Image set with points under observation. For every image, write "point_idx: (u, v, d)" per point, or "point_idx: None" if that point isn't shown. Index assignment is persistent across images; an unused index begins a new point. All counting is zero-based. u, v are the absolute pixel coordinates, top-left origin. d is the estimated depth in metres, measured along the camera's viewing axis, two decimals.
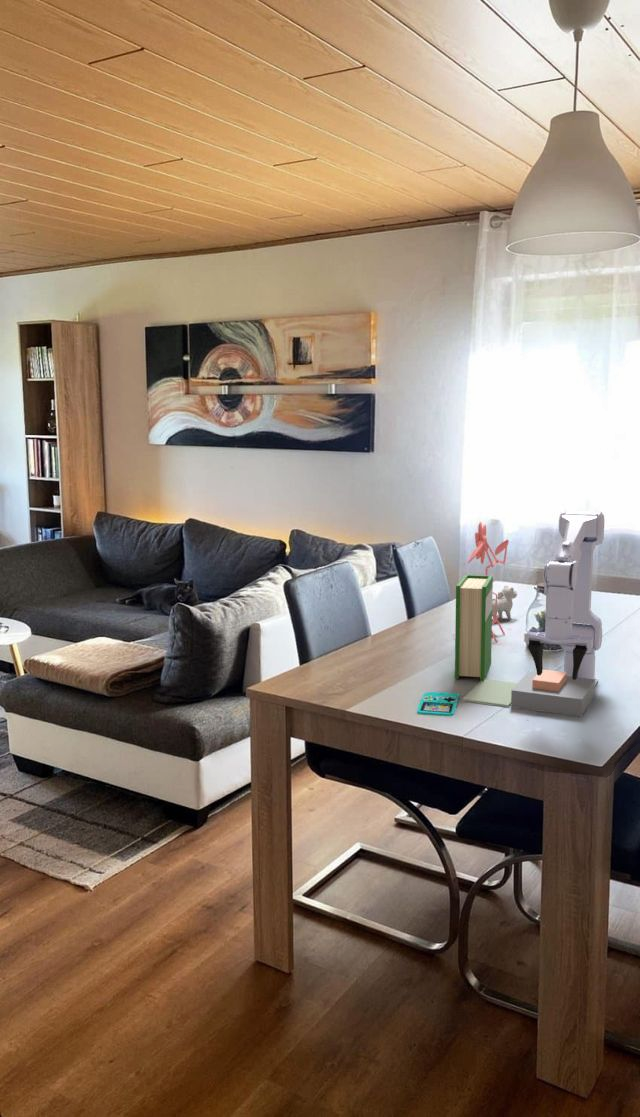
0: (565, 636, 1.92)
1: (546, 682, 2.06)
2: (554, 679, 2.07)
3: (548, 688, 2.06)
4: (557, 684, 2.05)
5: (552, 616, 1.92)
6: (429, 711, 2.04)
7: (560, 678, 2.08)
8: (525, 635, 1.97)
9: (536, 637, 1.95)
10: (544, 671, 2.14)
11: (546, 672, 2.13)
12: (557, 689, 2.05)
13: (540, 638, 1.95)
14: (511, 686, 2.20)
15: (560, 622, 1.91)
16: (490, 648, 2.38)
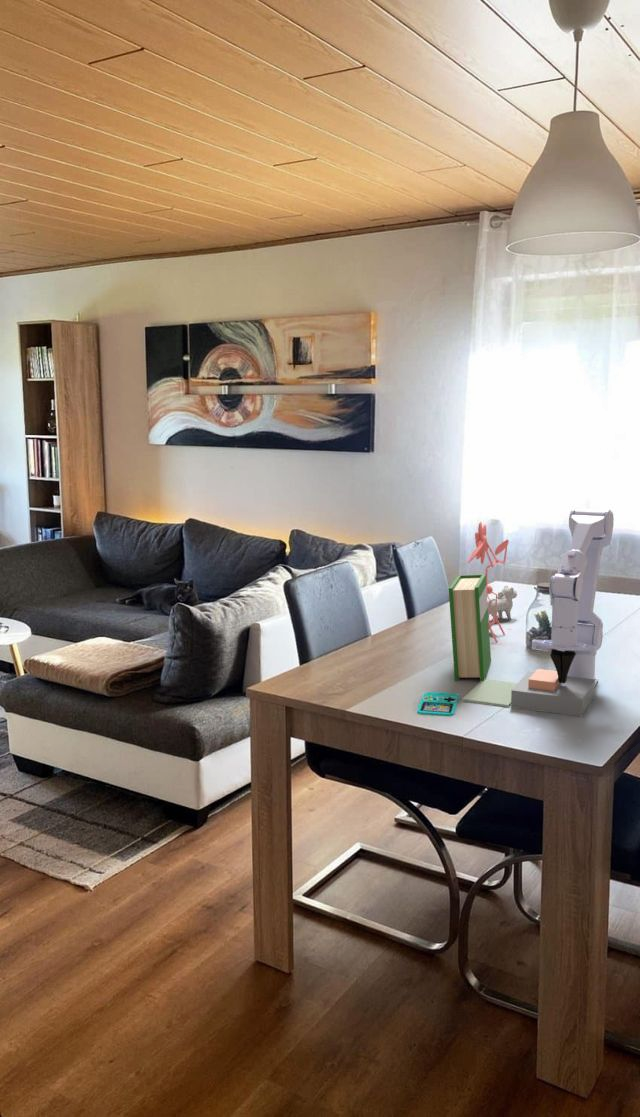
0: (570, 644, 2.04)
1: (542, 682, 2.06)
2: (550, 679, 2.07)
3: (544, 687, 2.06)
4: (553, 683, 2.05)
5: (557, 625, 2.04)
6: (429, 711, 2.04)
7: (556, 677, 2.08)
8: (532, 643, 2.09)
9: (543, 645, 2.08)
10: (540, 670, 2.14)
11: (542, 671, 2.13)
12: (553, 688, 2.05)
13: (547, 646, 2.07)
14: (511, 686, 2.20)
15: (566, 631, 2.04)
16: (489, 646, 2.38)
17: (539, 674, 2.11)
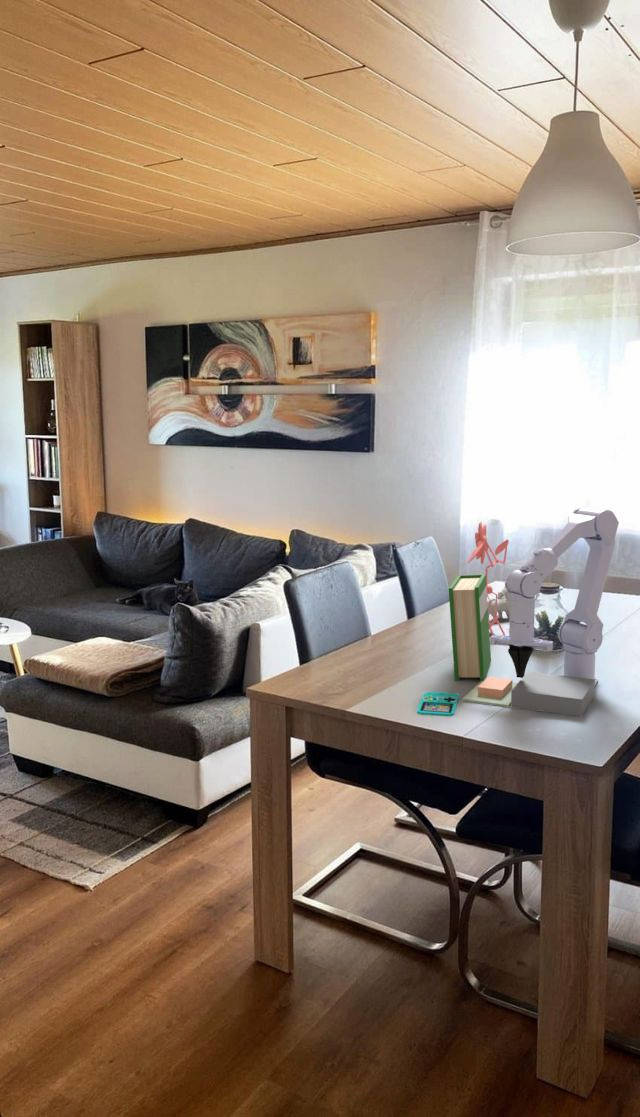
0: (527, 639, 2.09)
1: (489, 695, 2.13)
2: None
3: (487, 689, 2.13)
4: (478, 693, 2.14)
5: (510, 619, 2.10)
6: (429, 711, 2.04)
7: None
8: (491, 638, 2.14)
9: (501, 640, 2.12)
10: None
11: None
12: (478, 688, 2.14)
13: (504, 641, 2.11)
14: None
15: (522, 626, 2.08)
16: (489, 646, 2.38)
17: None
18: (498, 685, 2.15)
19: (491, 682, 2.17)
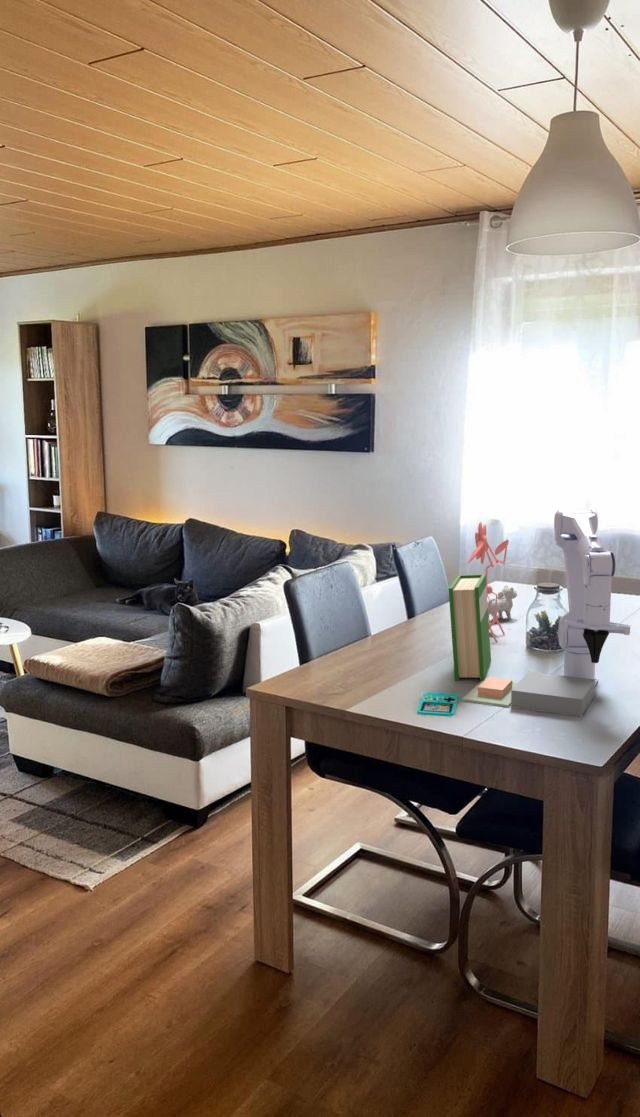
0: (603, 623, 2.01)
1: (489, 695, 2.13)
2: None
3: (487, 689, 2.13)
4: (478, 693, 2.14)
5: (596, 604, 2.01)
6: (429, 711, 2.04)
7: None
8: (564, 622, 2.06)
9: (575, 624, 2.05)
10: None
11: None
12: (478, 688, 2.14)
13: (579, 625, 2.04)
14: None
15: (599, 609, 2.01)
16: (489, 646, 2.38)
17: None
18: (498, 685, 2.15)
19: (491, 682, 2.17)
